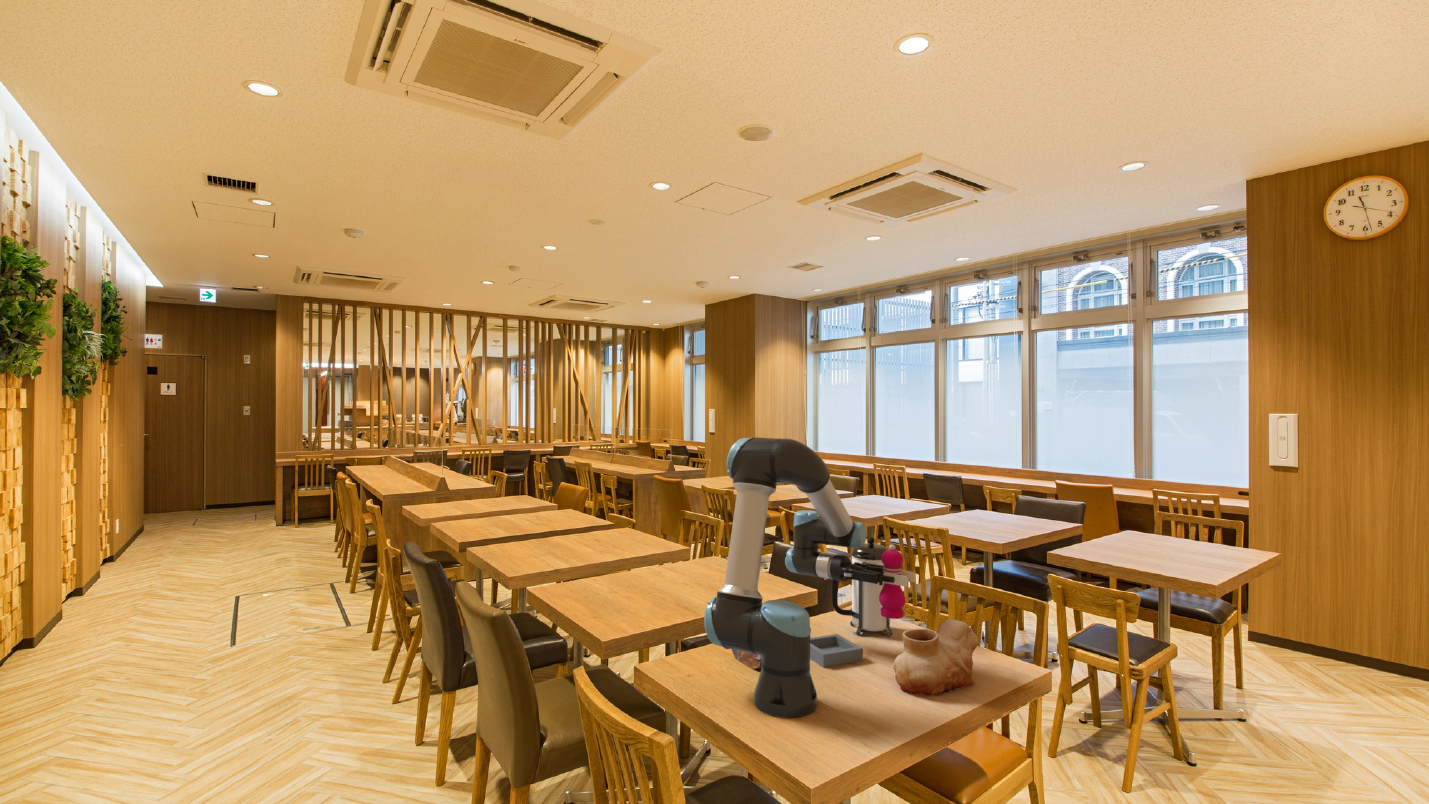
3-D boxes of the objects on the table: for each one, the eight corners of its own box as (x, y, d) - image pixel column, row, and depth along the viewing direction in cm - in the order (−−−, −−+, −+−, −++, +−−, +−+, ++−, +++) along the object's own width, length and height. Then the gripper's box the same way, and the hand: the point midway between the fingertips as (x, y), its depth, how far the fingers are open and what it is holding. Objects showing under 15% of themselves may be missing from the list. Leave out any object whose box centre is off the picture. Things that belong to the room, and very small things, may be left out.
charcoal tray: (823, 667, 180) (823, 654, 180) (799, 651, 192) (799, 639, 192) (862, 660, 185) (862, 648, 185) (836, 645, 197) (836, 633, 197)
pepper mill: (902, 612, 188) (903, 542, 188) (907, 620, 181) (907, 547, 181) (877, 611, 189) (877, 541, 189) (881, 619, 181) (881, 546, 182)
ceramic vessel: (993, 682, 171) (993, 624, 171) (921, 703, 158) (921, 641, 158) (951, 664, 183) (951, 610, 183) (880, 682, 170) (881, 624, 170)
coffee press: (863, 619, 222) (863, 530, 222) (904, 631, 210) (904, 537, 210) (830, 630, 211) (830, 536, 211) (871, 643, 198) (871, 544, 199)
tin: (730, 655, 188) (730, 626, 188) (739, 653, 190) (739, 624, 190) (759, 674, 175) (760, 642, 175) (769, 671, 177) (769, 640, 177)
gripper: (847, 573, 203) (921, 586, 189) (820, 585, 188) (898, 600, 174) (847, 549, 203) (922, 560, 189) (820, 559, 189) (898, 571, 174)
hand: (910, 579), depth 182 cm, fingers closed on pepper mill, 5 cm apart
